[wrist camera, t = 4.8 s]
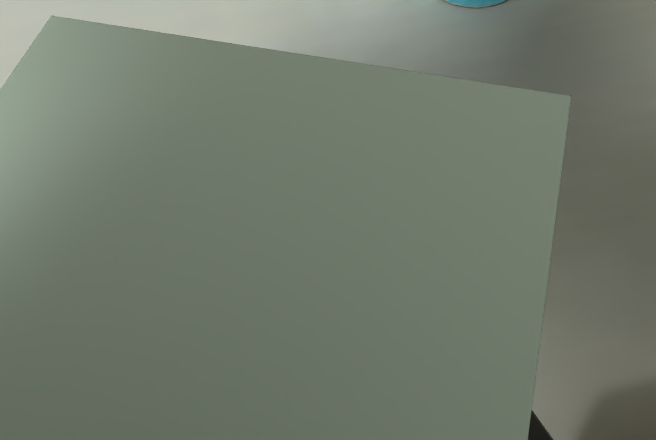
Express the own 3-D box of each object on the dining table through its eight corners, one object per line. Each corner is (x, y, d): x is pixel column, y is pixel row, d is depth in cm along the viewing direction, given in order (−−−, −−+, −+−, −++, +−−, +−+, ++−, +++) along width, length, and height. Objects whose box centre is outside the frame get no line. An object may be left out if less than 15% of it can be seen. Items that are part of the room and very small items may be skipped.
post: (393, 513, 13) (445, 1070, 2) (245, 460, 14) (-344, 588, 3) (427, 353, 15) (572, 96, 3) (293, 315, 16) (50, 15, 4)
